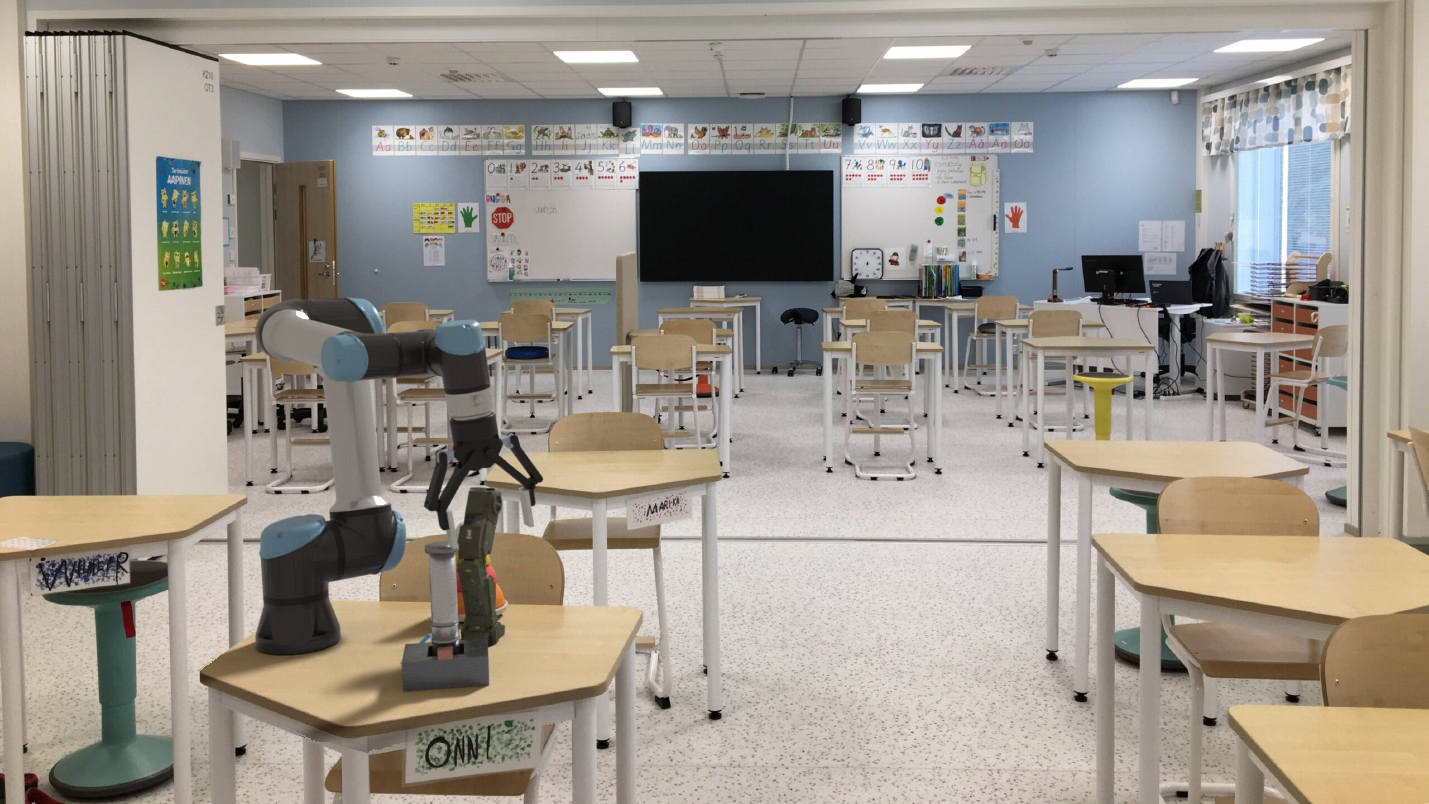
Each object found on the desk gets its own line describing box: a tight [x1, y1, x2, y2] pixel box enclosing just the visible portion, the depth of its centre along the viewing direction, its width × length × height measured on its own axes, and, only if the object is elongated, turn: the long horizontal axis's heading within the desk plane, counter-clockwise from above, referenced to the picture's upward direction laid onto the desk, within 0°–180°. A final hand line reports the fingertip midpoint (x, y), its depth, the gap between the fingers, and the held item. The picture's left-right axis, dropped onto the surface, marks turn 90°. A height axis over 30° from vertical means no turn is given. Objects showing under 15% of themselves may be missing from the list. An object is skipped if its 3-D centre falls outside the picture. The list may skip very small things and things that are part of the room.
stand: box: [401, 638, 490, 693], centre depth 197 cm, size 10×14×6 cm
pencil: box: [400, 631, 432, 664], centre depth 213 cm, size 1×17×1 cm, turn 176°
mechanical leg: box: [457, 486, 506, 648], centre depth 217 cm, size 14×7×30 cm, turn 168°
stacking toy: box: [455, 520, 509, 623], centre depth 233 cm, size 14×14×20 cm
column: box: [424, 540, 461, 656], centre depth 196 cm, size 6×6×23 cm
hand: (492, 536), depth 195 cm, fingers open, 13 cm apart
